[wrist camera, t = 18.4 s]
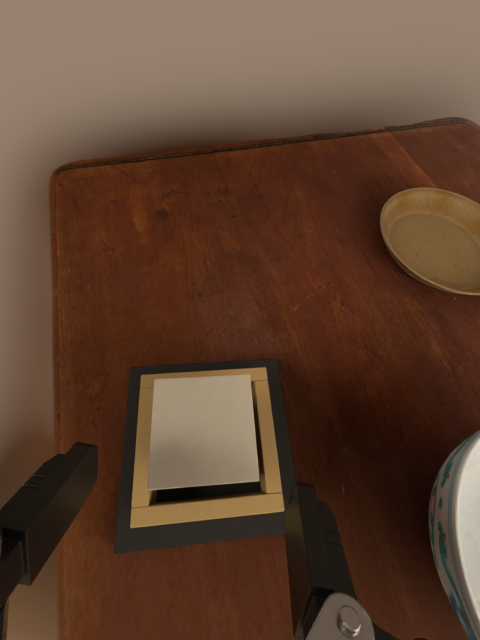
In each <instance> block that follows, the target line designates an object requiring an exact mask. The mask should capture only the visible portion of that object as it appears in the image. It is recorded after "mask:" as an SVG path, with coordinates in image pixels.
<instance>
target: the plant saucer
mask: <svg viewBox="0 0 480 640" xmlns="http://www.w3.org/2000/svg"><path fill="white" fill-rule="evenodd" d="M380 227H381V233H382V237H383V240H384V243H385V245H386V247H387V249H388V251H389V253H390V255H391V256H392V258H393V259H394V260H395V262H396V263H397V264H398V265H399V266H400V267H401V268H402V269H403V270H404V271H405V272H406V273H407V274H408V275H410V276H411V277H413V278H414V279H416V280H417V281H419V282H421V283H423V284H425V285H427V286H430V287H432V288H435V289H438V290H441V291H445V292H450V293H455V294H463V295H480V204H478V203H477V202H475V201H473V200H471V199H469V198H467V197H465V196H462V195H460V194H457V193H454V192H450V191H447V190H442V189H437V188H426V187H424V188H412V189H407V190H404V191H401V192H399V193H397V194H395V195H394V196H392V197H391V198H390V199H389V200H388V201H387V202H386V203H385V205H384V207H383V208H382V211H381V215H380Z"/></svg>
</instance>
